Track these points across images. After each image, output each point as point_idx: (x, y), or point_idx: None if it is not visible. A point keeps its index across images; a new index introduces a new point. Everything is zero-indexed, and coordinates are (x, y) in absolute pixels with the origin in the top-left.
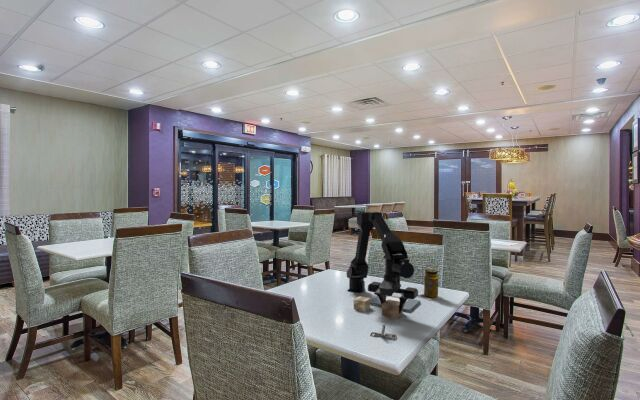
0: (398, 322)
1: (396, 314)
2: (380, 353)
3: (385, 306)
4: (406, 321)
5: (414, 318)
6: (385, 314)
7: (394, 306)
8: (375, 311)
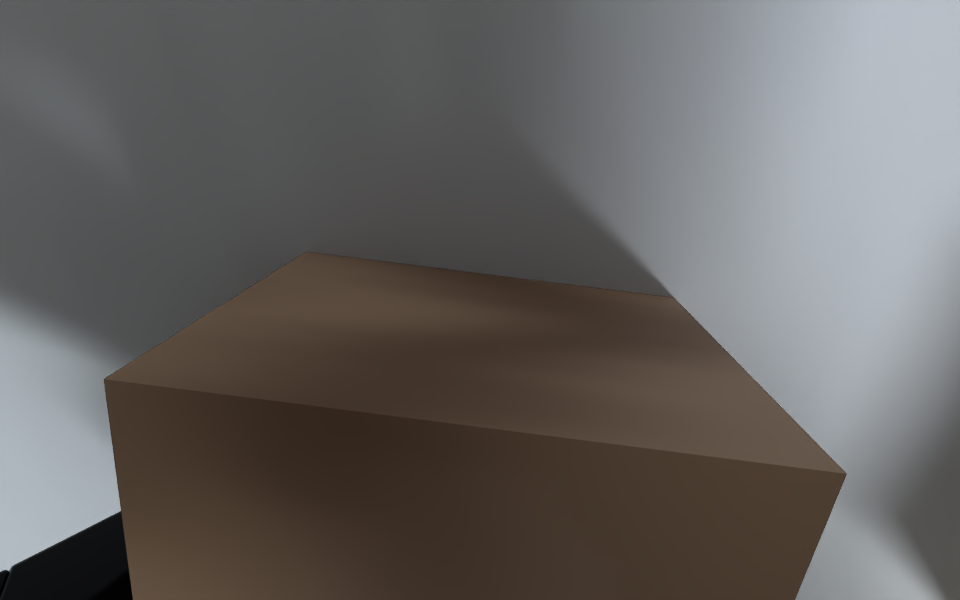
0: (184, 25)
1: (265, 280)
2: None
3: (637, 410)
4: (59, 185)
5: (8, 422)
6: (583, 301)
7: (226, 420)
8: None
